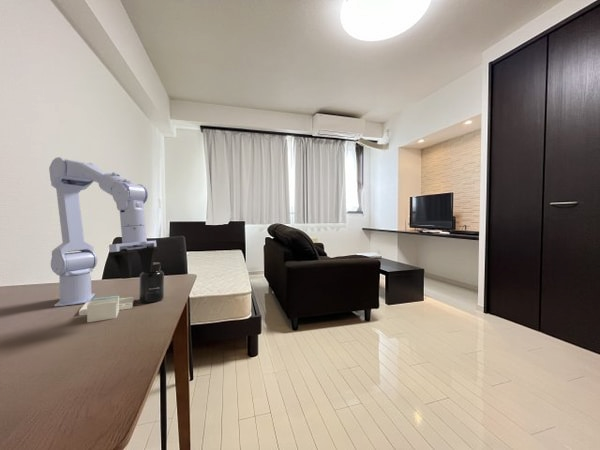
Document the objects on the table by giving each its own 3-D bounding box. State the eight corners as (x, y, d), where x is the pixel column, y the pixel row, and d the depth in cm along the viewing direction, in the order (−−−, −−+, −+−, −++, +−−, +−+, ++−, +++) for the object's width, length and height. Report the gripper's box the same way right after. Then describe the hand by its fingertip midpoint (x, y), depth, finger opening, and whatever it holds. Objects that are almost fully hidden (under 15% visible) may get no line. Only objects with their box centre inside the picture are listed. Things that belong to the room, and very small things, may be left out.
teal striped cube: (92, 314, 70) (92, 298, 69) (119, 311, 73) (119, 295, 72) (87, 323, 64) (87, 305, 64) (116, 318, 67) (116, 301, 67)
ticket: (86, 306, 75) (86, 302, 75) (134, 300, 81) (134, 296, 81) (78, 315, 68) (78, 310, 68) (131, 308, 74) (131, 304, 74)
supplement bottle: (152, 304, 78) (152, 265, 78) (134, 302, 79) (133, 264, 79) (168, 297, 85) (168, 262, 84) (151, 296, 86) (151, 261, 86)
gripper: (125, 225, 63) (129, 279, 63) (163, 225, 77) (167, 269, 77) (100, 228, 64) (104, 281, 63) (142, 227, 78) (146, 271, 78)
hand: (137, 275), depth 70 cm, fingers open, 7 cm apart
